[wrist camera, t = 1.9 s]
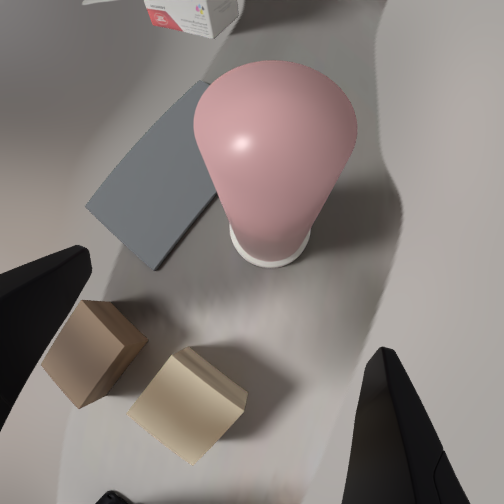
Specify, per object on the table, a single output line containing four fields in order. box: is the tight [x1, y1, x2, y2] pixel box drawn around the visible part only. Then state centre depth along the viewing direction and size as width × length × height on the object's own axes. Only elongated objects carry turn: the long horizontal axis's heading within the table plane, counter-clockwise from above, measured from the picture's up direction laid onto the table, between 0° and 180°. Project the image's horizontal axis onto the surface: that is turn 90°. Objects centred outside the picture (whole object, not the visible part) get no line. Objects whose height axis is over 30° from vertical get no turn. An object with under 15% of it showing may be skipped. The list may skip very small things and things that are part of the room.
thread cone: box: [193, 60, 357, 269], centre depth 14 cm, size 5×5×13 cm
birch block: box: [126, 347, 248, 466], centre depth 17 cm, size 5×5×4 cm
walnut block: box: [41, 300, 148, 409], centre depth 18 cm, size 6×4×4 cm, turn 141°
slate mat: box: [85, 80, 217, 271], centre depth 22 cm, size 14×8×1 cm, turn 142°
